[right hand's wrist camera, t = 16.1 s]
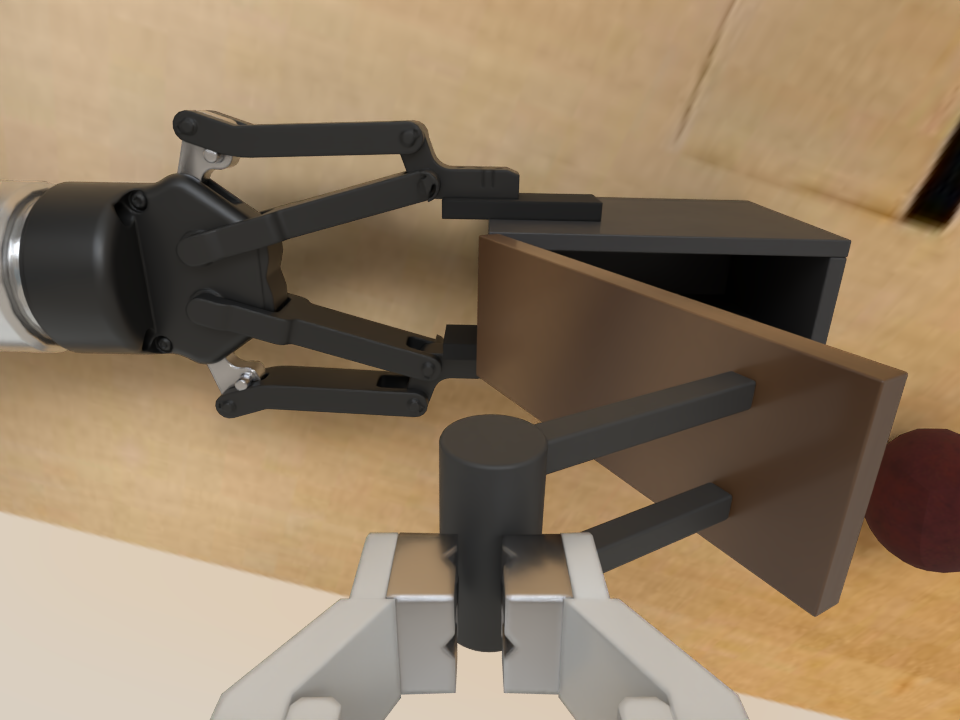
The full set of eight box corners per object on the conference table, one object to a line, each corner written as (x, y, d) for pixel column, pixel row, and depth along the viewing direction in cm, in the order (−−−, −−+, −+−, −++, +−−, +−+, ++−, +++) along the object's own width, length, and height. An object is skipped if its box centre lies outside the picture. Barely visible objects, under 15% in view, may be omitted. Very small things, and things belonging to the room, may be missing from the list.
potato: (835, 527, 40) (904, 609, 33) (836, 418, 37) (912, 484, 30) (957, 509, 39) (1052, 589, 32) (967, 397, 36) (1074, 460, 30)
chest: (748, 200, 32) (852, 240, 23) (730, 302, 35) (818, 376, 25) (488, 194, 33) (488, 231, 23) (486, 296, 35) (485, 368, 25)
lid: (909, 372, 12) (548, 495, 8) (839, 604, 14) (526, 793, 10) (498, 233, 23) (269, 255, 19) (494, 371, 25) (286, 416, 21)
